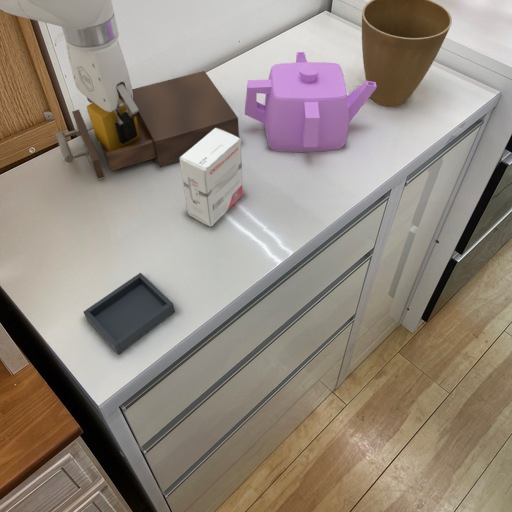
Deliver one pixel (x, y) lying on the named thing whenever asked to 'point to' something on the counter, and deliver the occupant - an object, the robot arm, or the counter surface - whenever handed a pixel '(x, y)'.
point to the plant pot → (401, 45)
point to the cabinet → (182, 114)
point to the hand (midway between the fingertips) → (116, 129)
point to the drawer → (116, 158)
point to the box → (107, 126)
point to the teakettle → (305, 105)
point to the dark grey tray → (129, 312)
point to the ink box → (212, 176)
